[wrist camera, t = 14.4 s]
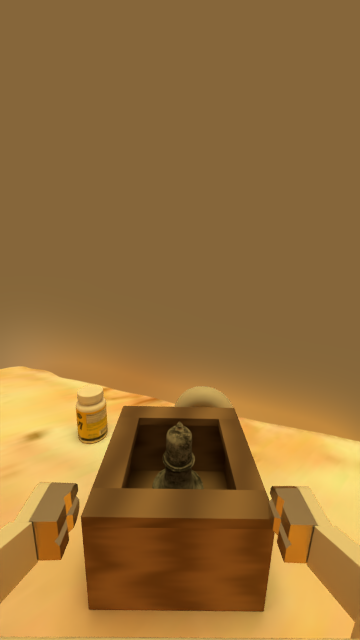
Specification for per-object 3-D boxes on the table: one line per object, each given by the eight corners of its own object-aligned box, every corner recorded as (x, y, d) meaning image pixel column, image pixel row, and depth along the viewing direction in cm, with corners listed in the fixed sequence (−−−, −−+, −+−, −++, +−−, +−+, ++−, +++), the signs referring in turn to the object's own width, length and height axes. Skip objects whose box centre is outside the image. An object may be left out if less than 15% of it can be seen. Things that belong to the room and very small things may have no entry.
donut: (232, 439, 42) (237, 385, 40) (233, 454, 39) (238, 396, 37) (175, 431, 44) (176, 379, 42) (171, 445, 41) (172, 389, 38)
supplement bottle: (77, 430, 44) (73, 386, 42) (104, 423, 46) (102, 381, 44) (79, 448, 40) (75, 400, 38) (110, 439, 42) (107, 393, 40)
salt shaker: (187, 481, 33) (190, 401, 30) (211, 523, 28) (218, 431, 25) (145, 499, 30) (144, 413, 28) (163, 548, 25) (164, 448, 23)
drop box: (89, 609, 21) (80, 516, 19) (125, 467, 36) (123, 406, 34) (263, 611, 21) (276, 519, 19) (229, 469, 36) (234, 407, 34)
